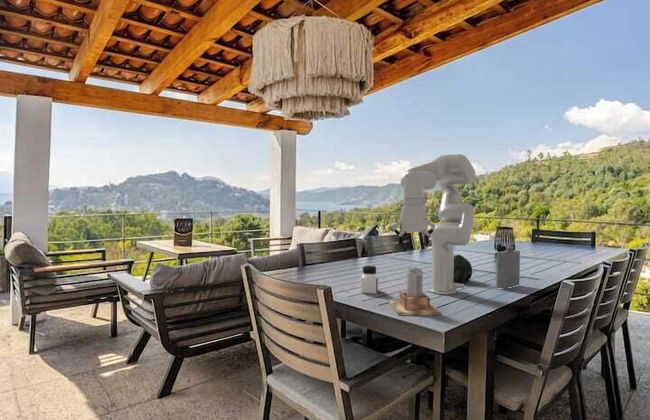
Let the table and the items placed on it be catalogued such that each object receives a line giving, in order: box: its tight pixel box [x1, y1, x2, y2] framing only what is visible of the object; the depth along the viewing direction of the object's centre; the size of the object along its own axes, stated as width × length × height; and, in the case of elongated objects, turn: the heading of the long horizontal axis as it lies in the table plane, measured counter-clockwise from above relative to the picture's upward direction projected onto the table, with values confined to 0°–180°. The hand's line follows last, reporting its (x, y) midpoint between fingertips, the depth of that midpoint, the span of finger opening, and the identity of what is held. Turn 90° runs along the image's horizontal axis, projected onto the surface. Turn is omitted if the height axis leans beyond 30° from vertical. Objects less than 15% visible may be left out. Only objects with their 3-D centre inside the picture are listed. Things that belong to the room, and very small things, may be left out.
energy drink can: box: [406, 266, 424, 297], centre depth 148 cm, size 6×6×15 cm
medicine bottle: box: [360, 264, 379, 295], centre depth 175 cm, size 7×7×12 cm
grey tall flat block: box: [495, 245, 521, 288], centre depth 184 cm, size 16×4×20 cm, turn 121°
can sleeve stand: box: [389, 291, 442, 316], centre depth 148 cm, size 16×16×6 cm
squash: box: [453, 254, 473, 284], centre depth 198 cm, size 14×15×15 cm
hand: (413, 246), depth 150 cm, fingers open, 9 cm apart
